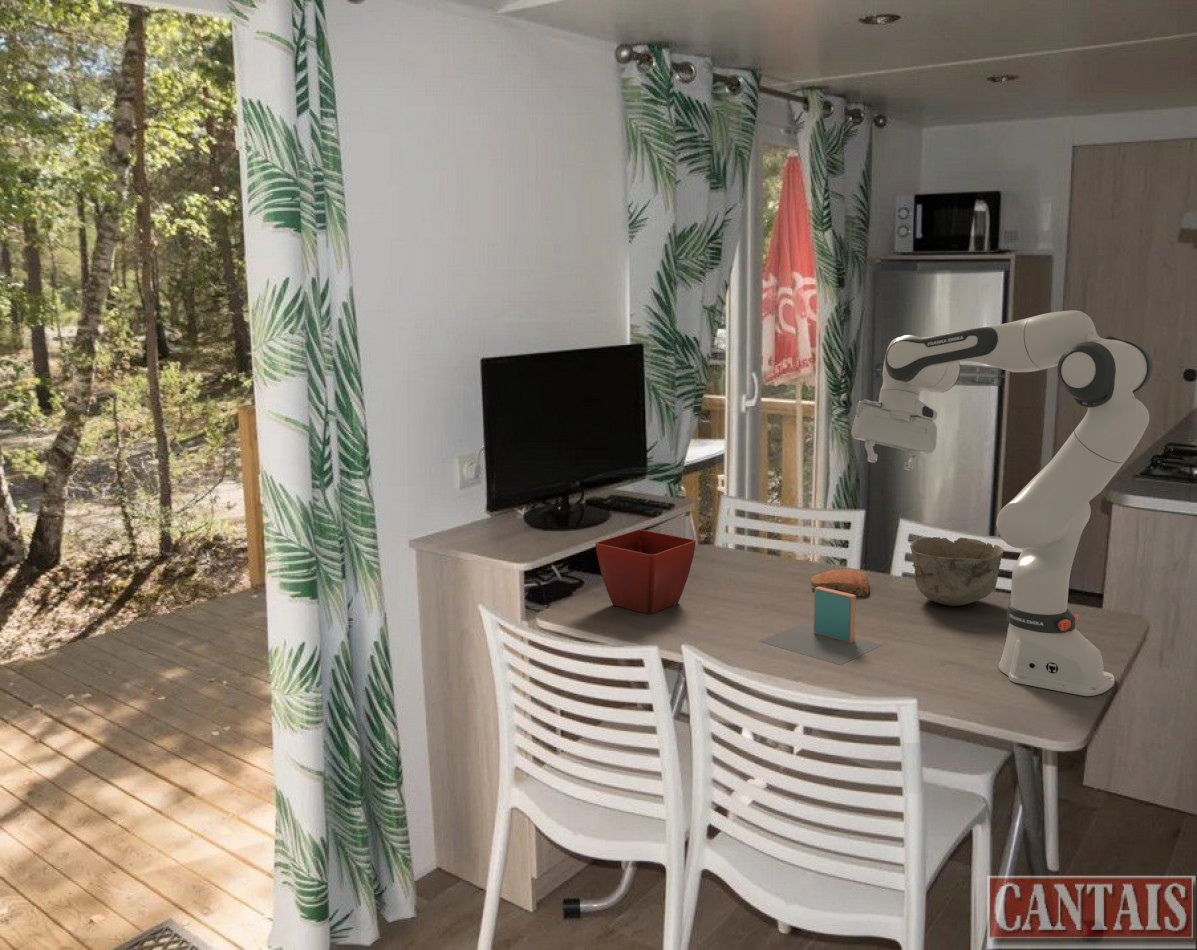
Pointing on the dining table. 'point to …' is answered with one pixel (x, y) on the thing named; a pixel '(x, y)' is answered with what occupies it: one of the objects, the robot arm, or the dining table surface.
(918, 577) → the bowl
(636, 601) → the plant pot
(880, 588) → the dining table surface
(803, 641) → the mat
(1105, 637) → the dining table surface
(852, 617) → the tile
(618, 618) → the dining table surface
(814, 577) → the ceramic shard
